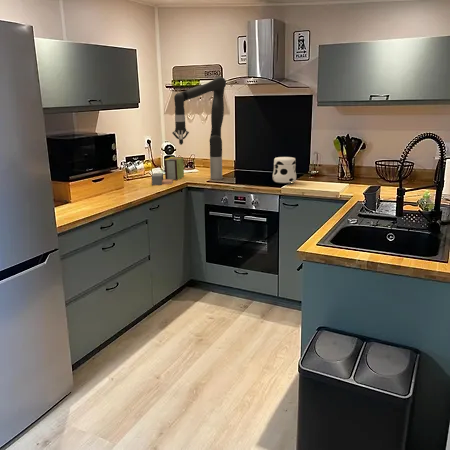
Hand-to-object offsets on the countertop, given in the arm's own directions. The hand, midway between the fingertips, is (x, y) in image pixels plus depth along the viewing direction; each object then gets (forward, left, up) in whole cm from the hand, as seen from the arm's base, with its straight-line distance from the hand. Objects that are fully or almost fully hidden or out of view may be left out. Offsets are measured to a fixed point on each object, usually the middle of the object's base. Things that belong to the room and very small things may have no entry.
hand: (181, 144), depth 341 cm
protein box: (+7, -8, -27) cm, 29 cm away
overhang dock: (+17, +12, -27) cm, 34 cm away
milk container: (-76, +18, -27) cm, 83 cm away
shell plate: (+13, +12, -28) cm, 33 cm away
